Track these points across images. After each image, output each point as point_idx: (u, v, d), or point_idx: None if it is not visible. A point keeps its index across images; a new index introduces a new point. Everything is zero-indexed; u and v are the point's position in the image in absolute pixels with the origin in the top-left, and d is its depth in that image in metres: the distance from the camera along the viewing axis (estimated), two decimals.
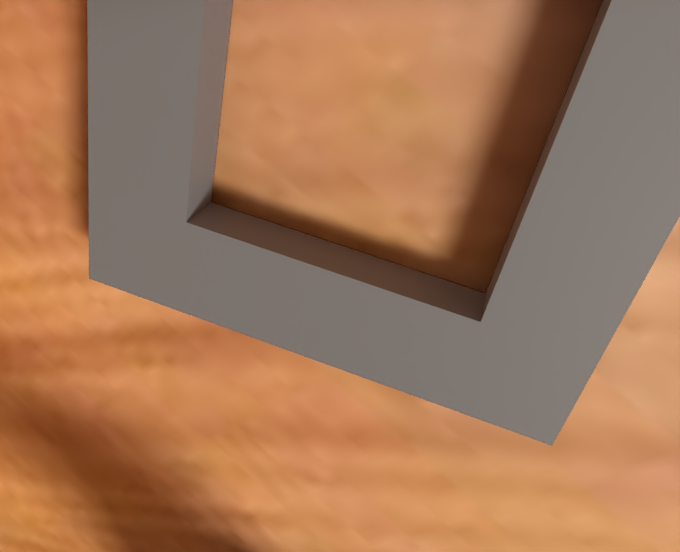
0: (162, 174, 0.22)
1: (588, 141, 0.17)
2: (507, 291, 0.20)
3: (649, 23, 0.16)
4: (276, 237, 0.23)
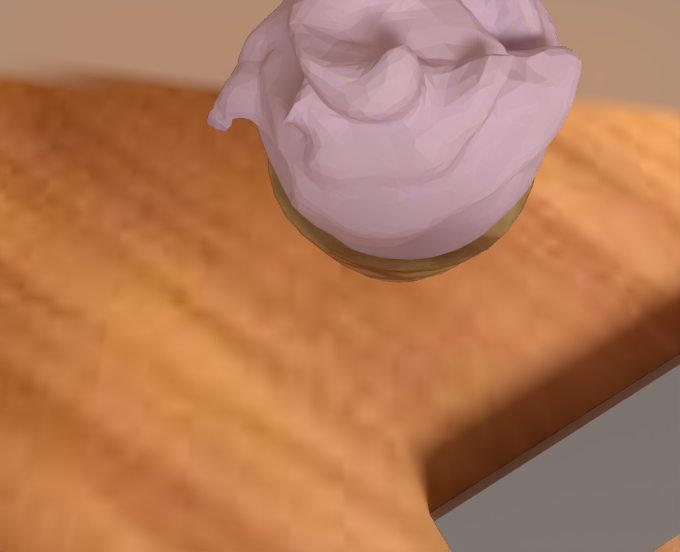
0: (642, 512, 0.19)
1: None
2: None
3: None
4: None
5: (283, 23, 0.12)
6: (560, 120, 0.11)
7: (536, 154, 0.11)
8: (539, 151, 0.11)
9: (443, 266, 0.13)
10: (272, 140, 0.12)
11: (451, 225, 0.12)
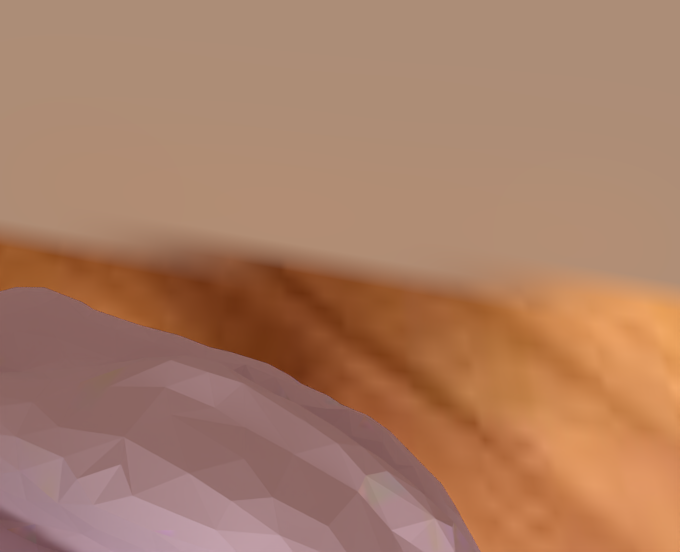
0: None
1: None
2: None
3: None
4: None
5: None
6: None
7: None
8: None
9: None
10: None
11: None
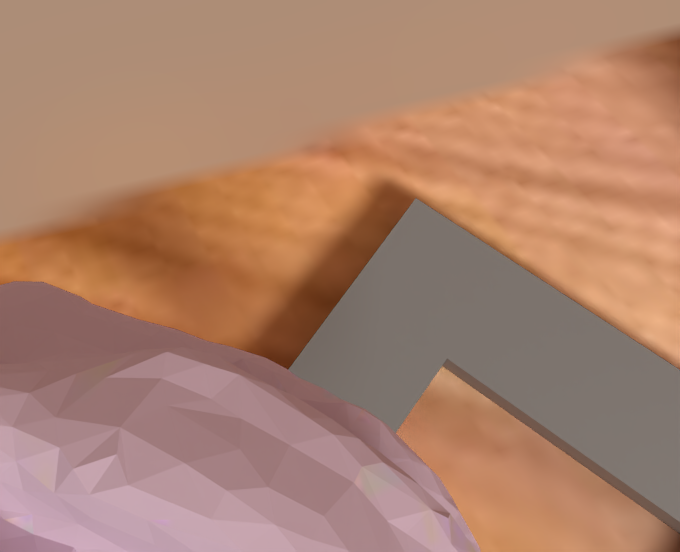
0: None
1: None
2: None
3: None
4: None
5: None
6: None
7: None
8: None
9: None
10: None
11: None
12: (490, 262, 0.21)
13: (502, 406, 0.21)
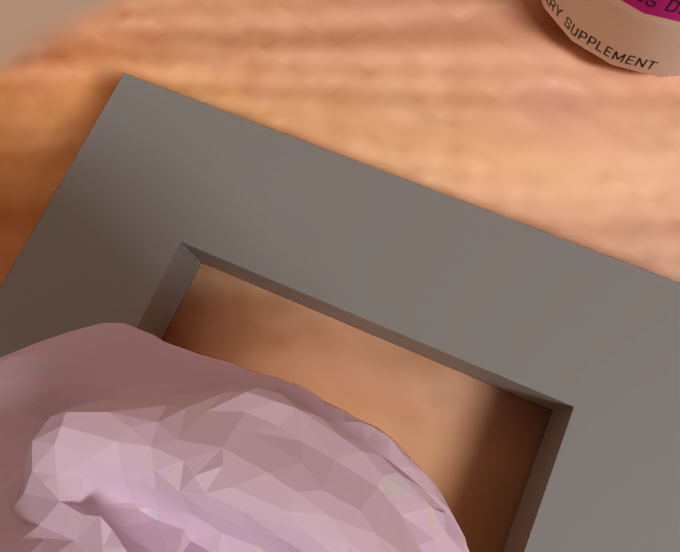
0: None
1: None
2: None
3: (604, 465, 0.15)
4: None
5: None
6: None
7: None
8: None
9: None
10: None
11: None
12: (218, 125, 0.18)
13: (272, 290, 0.18)
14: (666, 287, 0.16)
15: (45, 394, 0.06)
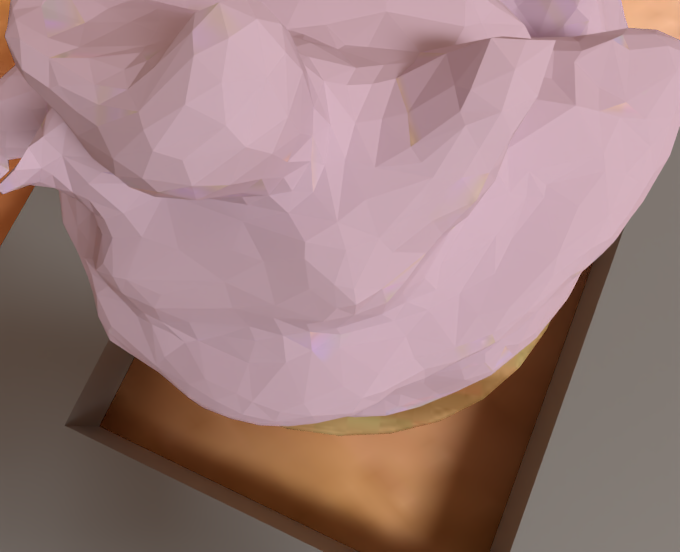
0: (59, 351, 0.16)
1: (615, 364, 0.15)
2: None
3: (663, 250, 0.16)
4: (186, 476, 0.16)
5: None
6: (644, 190, 0.05)
7: (591, 262, 0.05)
8: (598, 256, 0.05)
9: (404, 427, 0.07)
10: None
11: None
12: None
13: None
14: None
15: None
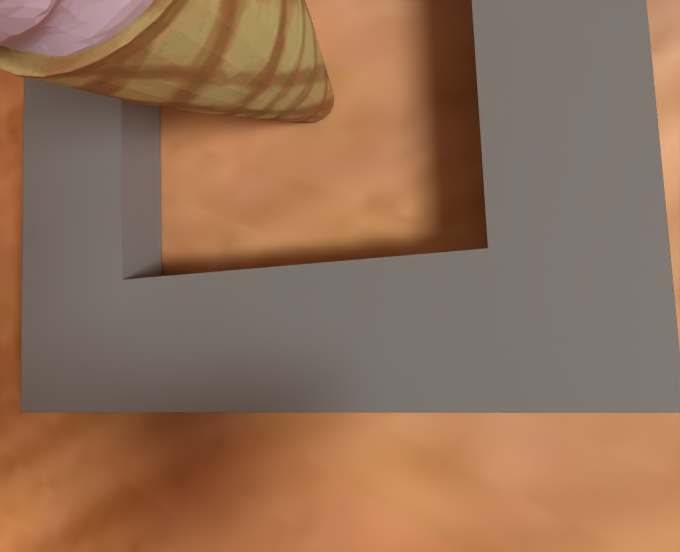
0: (94, 232, 0.20)
1: None
2: (501, 189, 0.15)
3: None
4: None
5: None
6: None
7: None
8: None
9: (166, 9, 0.09)
10: None
11: None
12: None
13: None
14: None
15: None
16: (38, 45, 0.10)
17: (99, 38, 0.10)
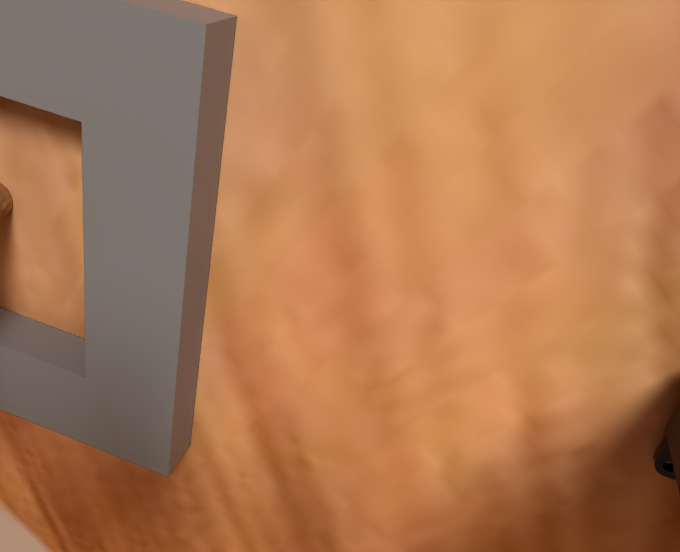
0: (53, 383, 0.26)
1: None
2: (41, 96, 0.20)
3: None
4: None
5: None
6: None
7: None
8: None
9: None
10: None
11: None
12: None
13: None
14: None
15: None
16: None
17: None
